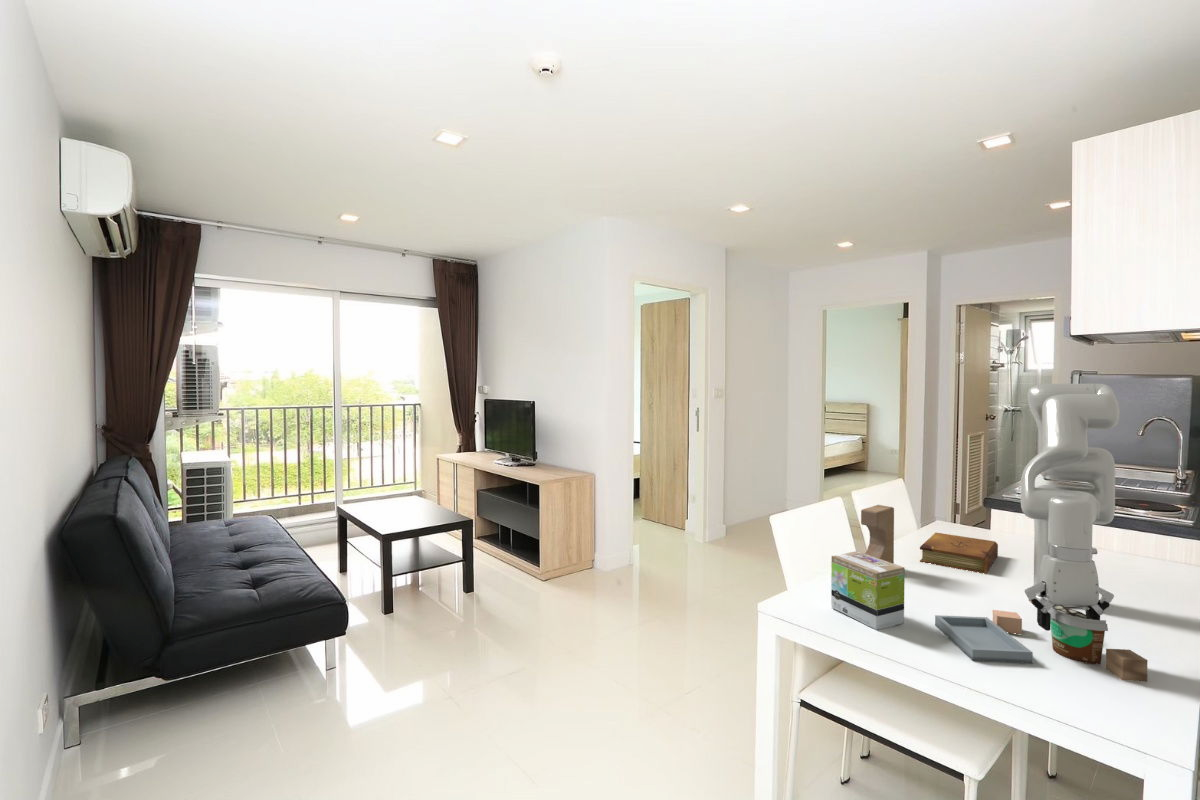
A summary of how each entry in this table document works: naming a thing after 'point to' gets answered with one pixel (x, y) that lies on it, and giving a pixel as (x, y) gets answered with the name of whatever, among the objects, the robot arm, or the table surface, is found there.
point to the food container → (1077, 635)
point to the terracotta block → (1008, 621)
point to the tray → (983, 639)
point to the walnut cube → (1126, 665)
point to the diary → (959, 552)
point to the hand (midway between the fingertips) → (1067, 629)
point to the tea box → (868, 589)
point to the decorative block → (880, 531)
